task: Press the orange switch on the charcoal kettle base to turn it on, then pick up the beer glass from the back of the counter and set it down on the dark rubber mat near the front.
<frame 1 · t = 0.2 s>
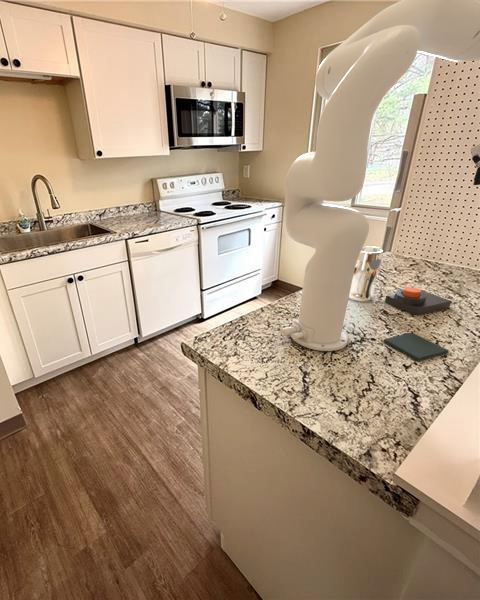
beer glass: (358, 297, 94), on the countertop
mat: (414, 347, 70), on the countertop
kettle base: (415, 305, 87), on the countertop
switch: (411, 292, 84), point 4 cm above the countertop, slide at 0.1 cm
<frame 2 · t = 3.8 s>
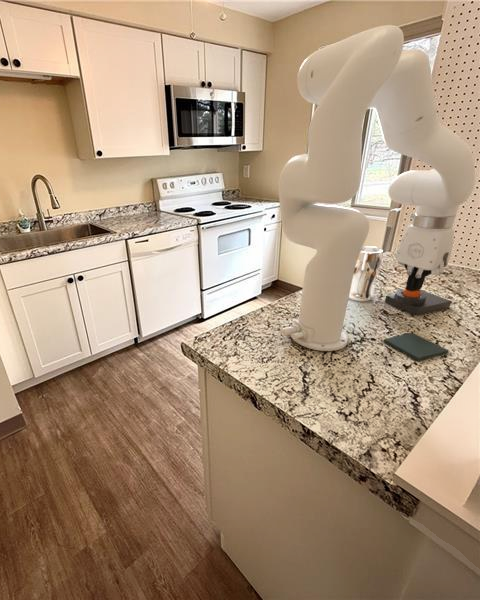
hand: (412, 289, 84), 5 cm above the countertop, tool pointing down, fingers closed
switch: (411, 292, 84), point 4 cm above the countertop, slide at 0.1 cm, touching gripper
everything else where it was.
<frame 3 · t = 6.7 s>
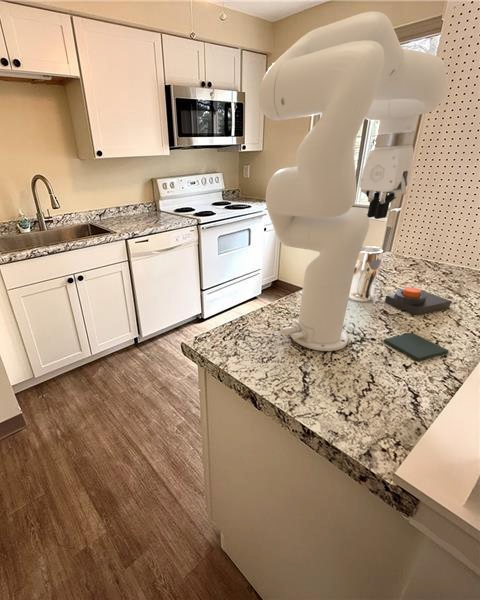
hand: (376, 217, 84), 24 cm above the countertop, tool pointing down, fingers closed
switch: (411, 292, 84), point 4 cm above the countertop, slide at 0.1 cm
everything else where it was.
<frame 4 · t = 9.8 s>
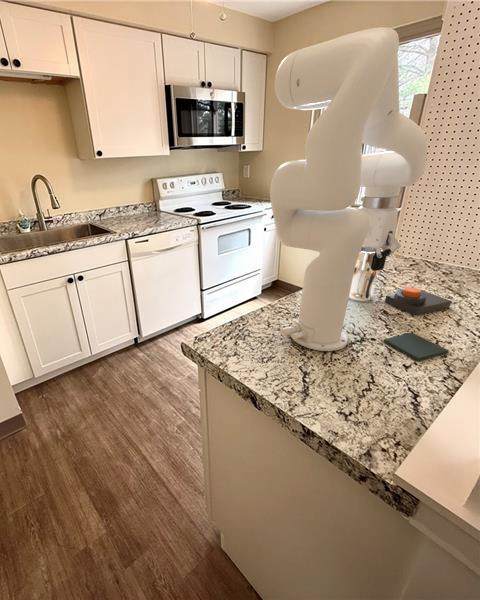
hand: (365, 265, 90), 10 cm above the countertop, tool pointing down, fingers closed on beer glass, 7 cm apart
beer glass: (358, 297, 94), on the countertop, touching gripper
everything else where it was.
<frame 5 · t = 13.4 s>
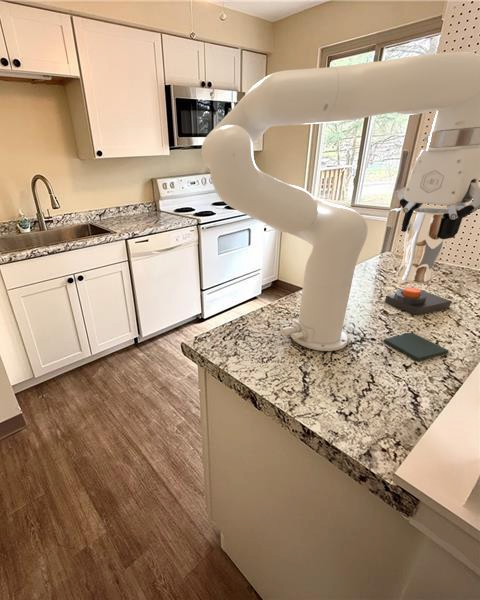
hand: (426, 233, 65), 25 cm above the countertop, tool pointing down, fingers closed on beer glass, 7 cm apart
beer glass: (412, 279, 70), point 14 cm above the countertop, touching gripper
everything else where it was.
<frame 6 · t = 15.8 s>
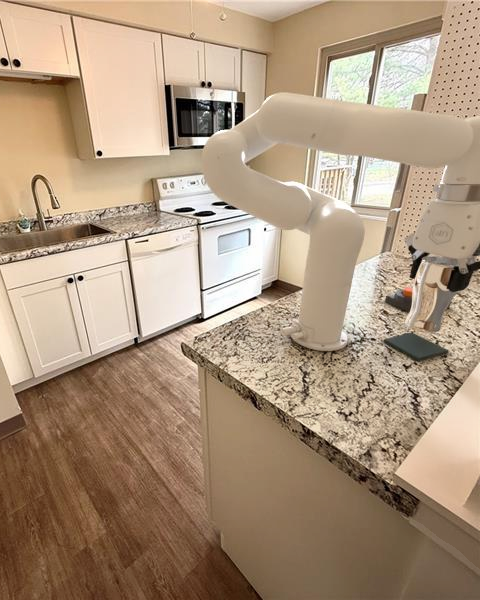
hand: (435, 283, 63), 16 cm above the countertop, tool pointing down, fingers closed on beer glass, 7 cm apart
beer glass: (421, 326, 68), point 5 cm above the countertop, touching gripper
everything else where it was.
when the fingers open (11 cm above the countertop, at t = 17.5 s): beer glass stays where it is, resting on mat.
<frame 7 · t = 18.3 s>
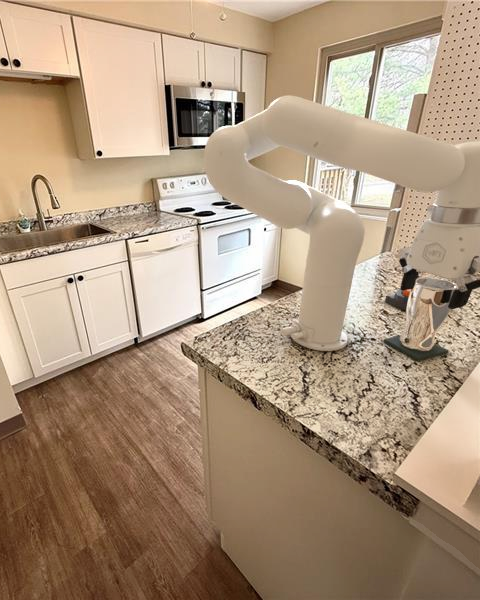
hand: (429, 297, 65), 12 cm above the countertop, tool pointing down, fingers open, 9 cm apart
beer glass: (415, 345, 70), point 1 cm above the countertop, touching mat
everything else where it was.
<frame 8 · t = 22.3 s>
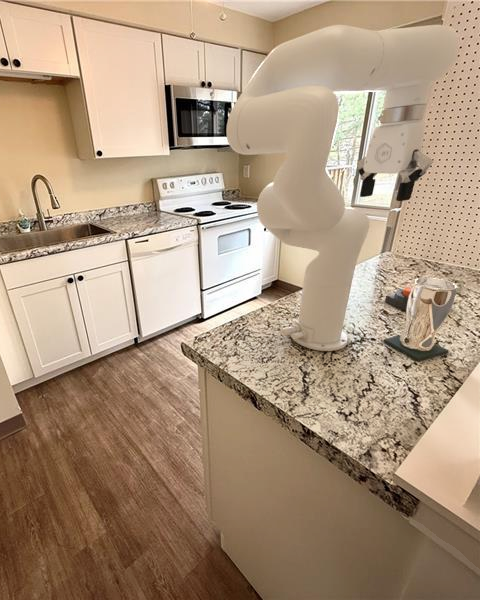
hand: (383, 198, 75), 30 cm above the countertop, tool pointing down, fingers open, 9 cm apart
nothing on the countertop moved.
at the end: switch pushed in 1.1 cm at the most during the clip, back to where it started at the end; beer glass 0.0 cm off-centre on the mat, point 0.6 cm above the mat's base; beer glass tilted 0° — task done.
